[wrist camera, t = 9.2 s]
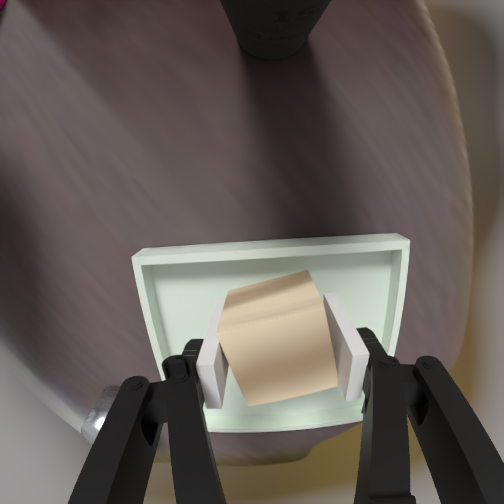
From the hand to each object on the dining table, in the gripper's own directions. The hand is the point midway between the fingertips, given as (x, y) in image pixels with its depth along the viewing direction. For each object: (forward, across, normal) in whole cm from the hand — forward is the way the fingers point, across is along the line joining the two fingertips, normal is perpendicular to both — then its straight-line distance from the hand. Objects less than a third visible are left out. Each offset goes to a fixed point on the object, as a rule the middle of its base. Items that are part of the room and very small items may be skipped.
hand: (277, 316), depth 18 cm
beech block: (0, 0, 0) cm, 1 cm away
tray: (+3, 0, -4) cm, 6 cm away
